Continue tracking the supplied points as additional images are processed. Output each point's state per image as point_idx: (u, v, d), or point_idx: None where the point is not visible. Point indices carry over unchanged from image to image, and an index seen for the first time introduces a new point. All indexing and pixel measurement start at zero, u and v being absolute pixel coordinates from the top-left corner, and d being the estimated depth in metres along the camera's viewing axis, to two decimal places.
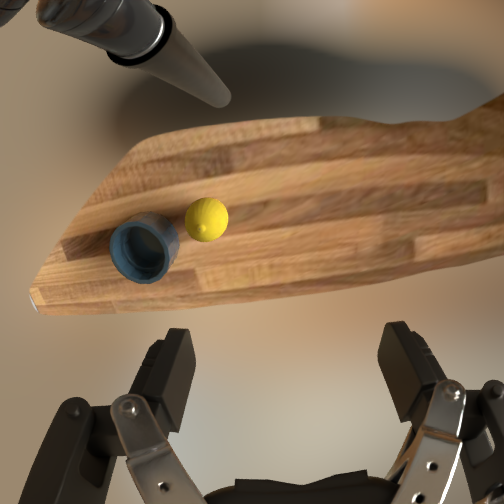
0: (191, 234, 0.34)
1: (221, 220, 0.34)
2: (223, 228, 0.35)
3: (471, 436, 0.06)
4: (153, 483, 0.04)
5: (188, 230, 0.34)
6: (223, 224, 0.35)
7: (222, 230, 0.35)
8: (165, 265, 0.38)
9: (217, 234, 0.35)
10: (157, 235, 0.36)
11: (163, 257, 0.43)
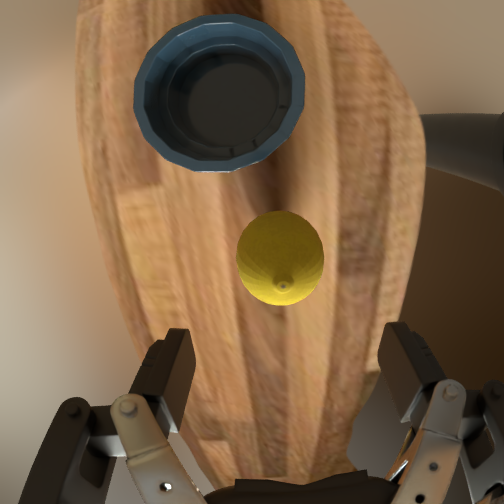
0: (265, 252, 0.15)
1: None
2: None
3: (471, 436, 0.06)
4: (153, 483, 0.04)
5: (275, 246, 0.15)
6: None
7: None
8: (180, 158, 0.14)
9: (257, 297, 0.17)
10: (261, 151, 0.14)
11: (187, 123, 0.18)
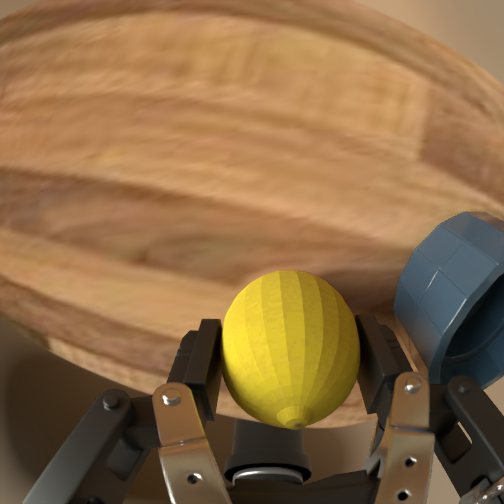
0: (346, 388, 0.08)
1: (225, 371, 0.09)
2: (235, 337, 0.09)
3: (440, 431, 0.06)
4: (181, 474, 0.04)
5: (346, 396, 0.08)
6: (228, 353, 0.09)
7: (241, 335, 0.09)
8: (488, 284, 0.08)
9: (260, 352, 0.08)
10: (435, 369, 0.10)
11: None
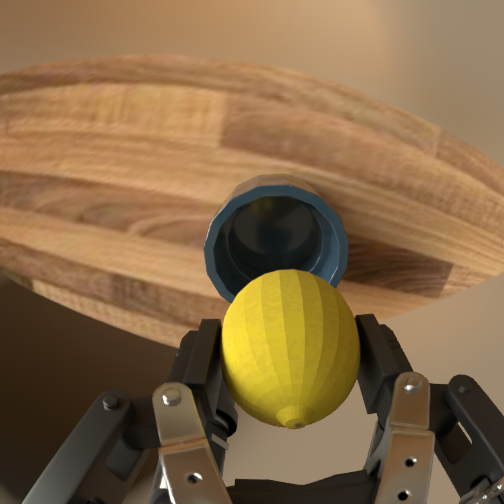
0: (346, 388, 0.08)
1: (225, 370, 0.09)
2: (235, 336, 0.09)
3: (440, 431, 0.06)
4: (181, 474, 0.04)
5: (346, 396, 0.08)
6: (228, 353, 0.09)
7: (241, 334, 0.09)
8: (227, 213, 0.17)
9: (260, 351, 0.08)
10: (214, 275, 0.19)
11: None
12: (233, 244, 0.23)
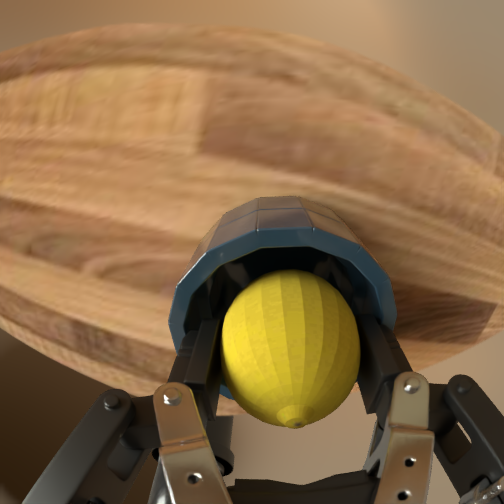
0: (346, 387, 0.08)
1: (225, 370, 0.09)
2: (235, 336, 0.09)
3: (439, 431, 0.06)
4: (182, 473, 0.04)
5: (346, 395, 0.08)
6: (228, 352, 0.09)
7: (241, 334, 0.09)
8: (201, 274, 0.10)
9: (260, 351, 0.08)
10: None
11: None
12: (220, 297, 0.16)
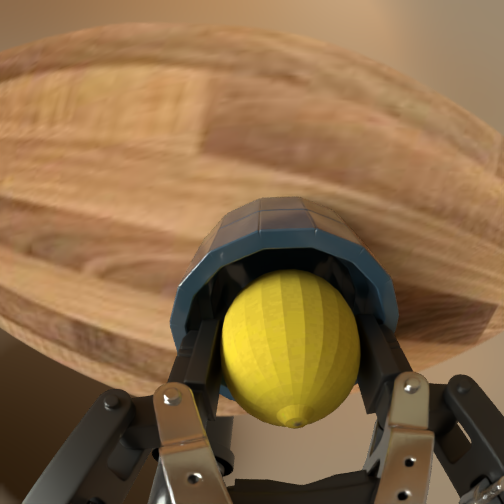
0: (346, 387, 0.08)
1: (226, 370, 0.09)
2: (235, 336, 0.09)
3: (439, 431, 0.06)
4: (182, 473, 0.04)
5: (346, 395, 0.08)
6: (228, 352, 0.09)
7: (241, 334, 0.09)
8: (203, 275, 0.10)
9: (260, 350, 0.08)
10: None
11: None
12: (221, 297, 0.16)
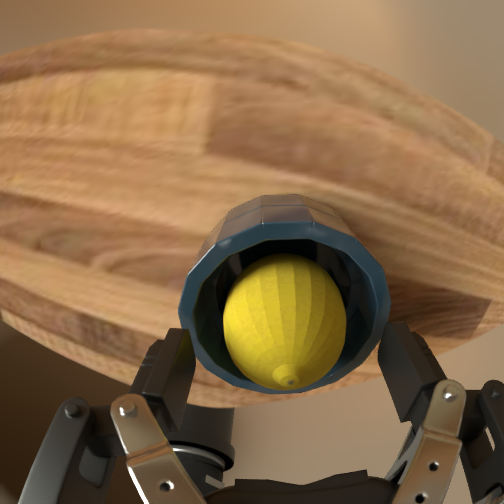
0: (333, 352, 0.10)
1: (228, 337, 0.11)
2: (237, 307, 0.11)
3: (471, 436, 0.06)
4: (153, 483, 0.04)
5: (333, 360, 0.10)
6: (231, 321, 0.11)
7: (242, 304, 0.11)
8: (210, 264, 0.11)
9: (258, 316, 0.10)
10: (195, 346, 0.13)
11: None
12: (225, 289, 0.17)
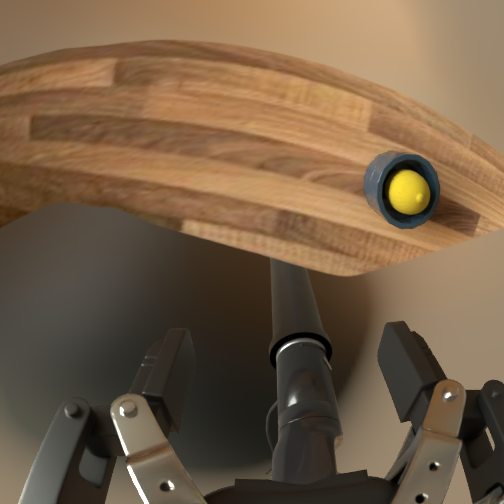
0: (429, 194, 0.28)
1: (398, 189, 0.29)
2: (400, 179, 0.29)
3: (471, 436, 0.06)
4: (153, 483, 0.04)
5: (429, 199, 0.28)
6: (399, 184, 0.29)
7: (402, 178, 0.29)
8: (391, 165, 0.29)
9: (409, 179, 0.28)
10: (380, 200, 0.31)
11: None
12: None
